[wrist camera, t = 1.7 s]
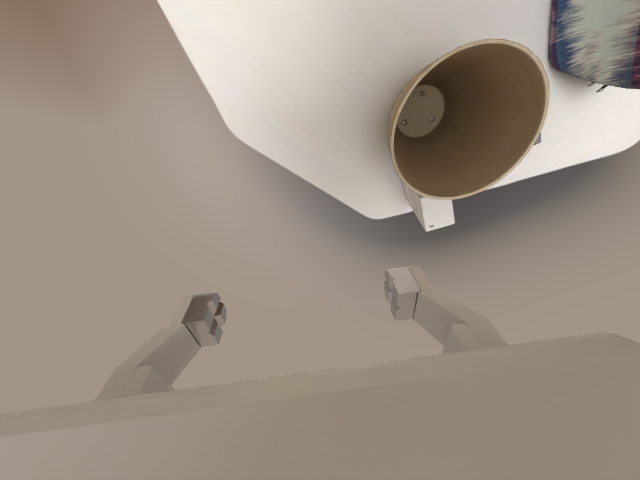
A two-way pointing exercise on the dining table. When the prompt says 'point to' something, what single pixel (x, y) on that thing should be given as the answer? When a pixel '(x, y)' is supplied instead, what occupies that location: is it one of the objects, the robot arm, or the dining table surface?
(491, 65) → the plant pot
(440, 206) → the skincare box
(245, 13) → the dining table surface
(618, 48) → the handbag
